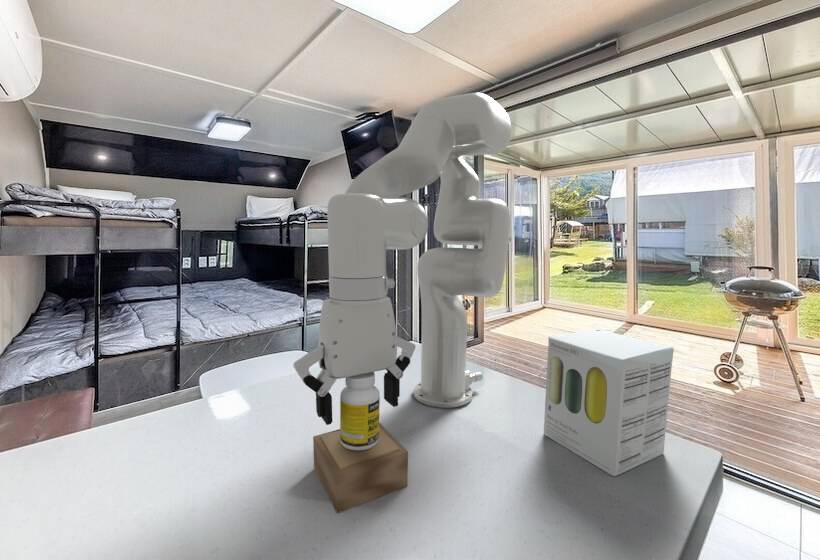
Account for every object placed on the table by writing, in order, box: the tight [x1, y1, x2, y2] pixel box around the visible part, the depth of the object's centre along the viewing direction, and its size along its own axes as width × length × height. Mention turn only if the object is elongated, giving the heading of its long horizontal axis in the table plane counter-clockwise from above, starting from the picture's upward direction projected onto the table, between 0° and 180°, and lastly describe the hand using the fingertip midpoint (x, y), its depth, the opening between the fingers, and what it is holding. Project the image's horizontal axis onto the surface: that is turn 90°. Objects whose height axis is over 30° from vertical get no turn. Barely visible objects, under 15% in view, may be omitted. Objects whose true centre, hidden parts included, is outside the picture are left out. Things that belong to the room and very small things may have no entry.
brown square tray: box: [312, 422, 409, 514], centre depth 51 cm, size 10×10×5 cm
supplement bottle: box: [339, 372, 381, 451], centre depth 50 cm, size 5×5×10 cm
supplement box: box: [543, 328, 675, 477], centre depth 59 cm, size 13×13×18 cm
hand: (360, 411), depth 50 cm, fingers open, 9 cm apart
